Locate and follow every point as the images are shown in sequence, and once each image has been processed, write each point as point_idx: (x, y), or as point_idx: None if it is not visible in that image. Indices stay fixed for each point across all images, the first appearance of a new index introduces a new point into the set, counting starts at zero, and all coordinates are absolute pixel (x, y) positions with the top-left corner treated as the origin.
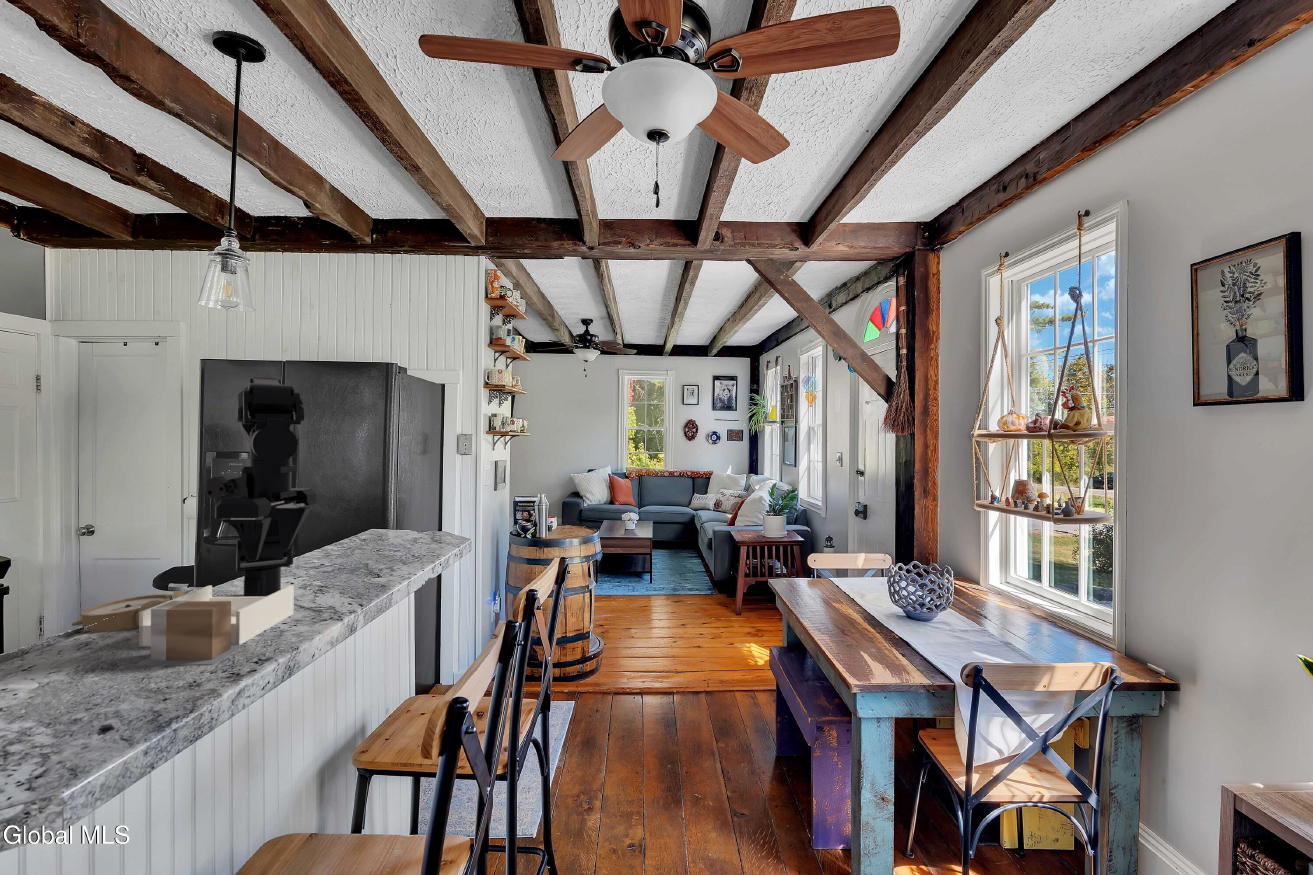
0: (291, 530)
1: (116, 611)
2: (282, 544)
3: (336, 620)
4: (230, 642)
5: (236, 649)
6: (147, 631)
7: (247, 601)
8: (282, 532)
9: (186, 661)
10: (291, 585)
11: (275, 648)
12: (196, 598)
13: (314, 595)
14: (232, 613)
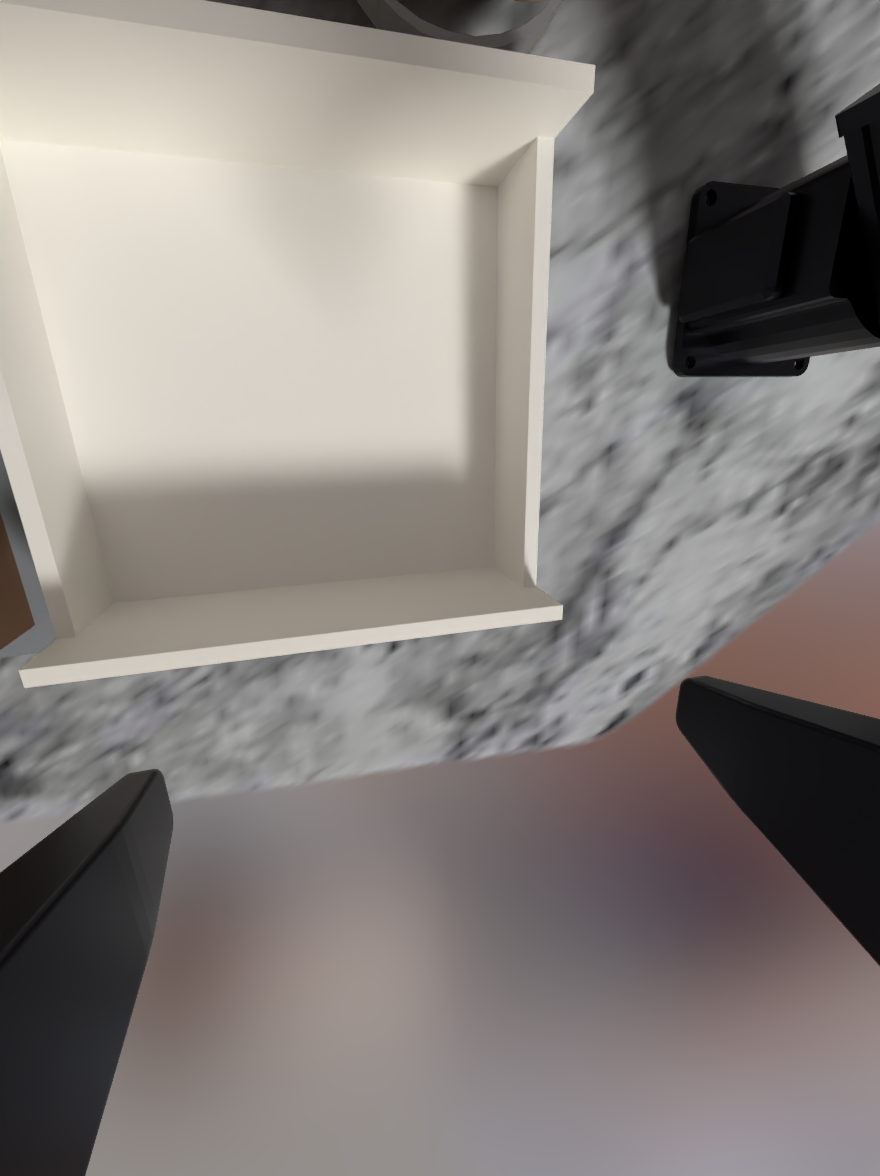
0: (844, 874)
1: None
2: (709, 706)
3: (447, 747)
4: (16, 635)
5: (34, 651)
6: None
7: (519, 382)
8: (839, 773)
9: None
10: (550, 615)
11: (129, 740)
12: (425, 103)
13: (761, 490)
14: (500, 310)
